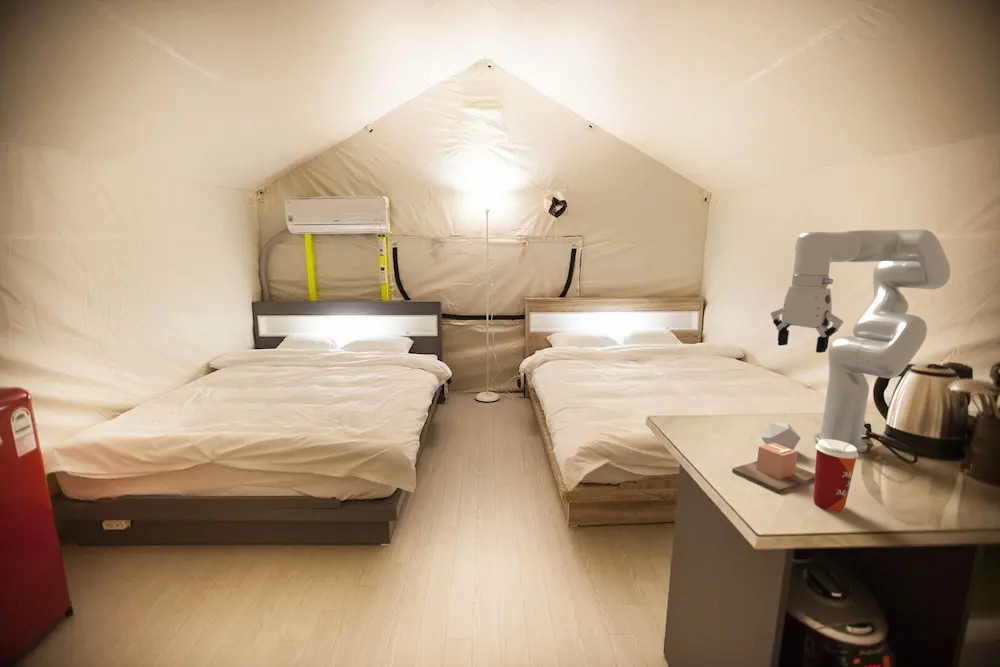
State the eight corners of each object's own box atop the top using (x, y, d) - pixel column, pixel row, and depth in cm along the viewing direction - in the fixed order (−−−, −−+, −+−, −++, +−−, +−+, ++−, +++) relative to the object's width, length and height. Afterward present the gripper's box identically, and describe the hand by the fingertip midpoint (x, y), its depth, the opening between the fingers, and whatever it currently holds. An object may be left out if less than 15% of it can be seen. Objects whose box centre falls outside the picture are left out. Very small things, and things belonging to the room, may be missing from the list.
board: (771, 460, 127) (771, 456, 127) (818, 479, 117) (819, 475, 117) (732, 472, 120) (732, 468, 120) (778, 493, 109) (779, 489, 109)
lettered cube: (771, 464, 122) (774, 441, 121) (794, 474, 117) (797, 450, 116) (756, 469, 119) (759, 445, 118) (779, 479, 114) (782, 455, 113)
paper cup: (851, 518, 100) (861, 455, 97) (807, 507, 104) (816, 446, 101) (848, 502, 106) (857, 442, 104) (807, 492, 110) (815, 435, 108)
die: (786, 447, 138) (766, 418, 139) (812, 443, 130) (791, 412, 132) (770, 462, 134) (749, 432, 136) (795, 459, 127) (773, 427, 128)
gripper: (855, 284, 115) (845, 353, 118) (784, 279, 130) (777, 341, 133) (838, 284, 111) (828, 356, 114) (767, 280, 126) (760, 343, 129)
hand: (801, 348), depth 124 cm, fingers open, 9 cm apart
